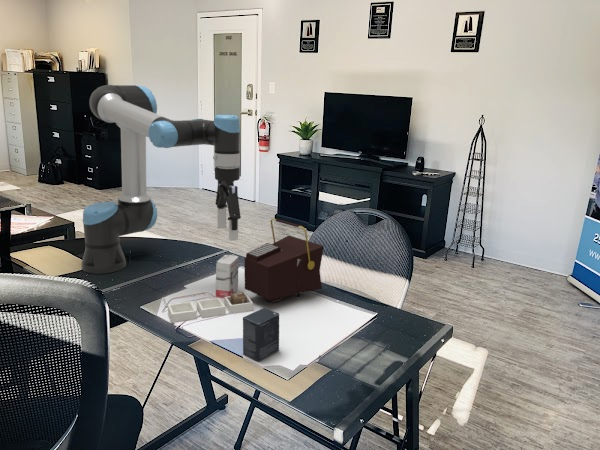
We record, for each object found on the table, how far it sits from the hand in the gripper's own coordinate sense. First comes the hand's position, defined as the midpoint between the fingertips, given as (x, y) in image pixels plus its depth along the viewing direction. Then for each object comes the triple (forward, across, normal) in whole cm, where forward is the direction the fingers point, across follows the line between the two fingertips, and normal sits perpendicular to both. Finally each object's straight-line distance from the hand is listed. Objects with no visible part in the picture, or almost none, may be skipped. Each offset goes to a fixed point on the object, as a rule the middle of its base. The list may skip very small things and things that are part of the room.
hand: (227, 233), depth 157 cm
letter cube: (+20, +12, 0) cm, 23 cm away
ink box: (+20, 0, 0) cm, 20 cm away
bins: (+20, +12, -8) cm, 25 cm away
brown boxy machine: (+21, +8, +16) cm, 27 cm away
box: (+21, +39, -2) cm, 44 cm away
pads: (+21, 0, -8) cm, 22 cm away
